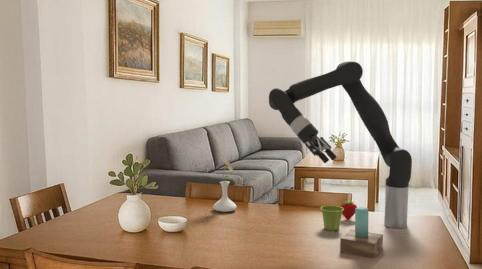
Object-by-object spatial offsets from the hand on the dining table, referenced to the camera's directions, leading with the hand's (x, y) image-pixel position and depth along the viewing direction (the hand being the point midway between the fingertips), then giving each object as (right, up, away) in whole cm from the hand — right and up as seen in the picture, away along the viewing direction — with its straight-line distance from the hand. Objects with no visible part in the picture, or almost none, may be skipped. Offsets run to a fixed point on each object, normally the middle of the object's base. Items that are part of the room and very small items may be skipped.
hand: (331, 160), depth 178 cm
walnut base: (+9, -32, -10) cm, 35 cm away
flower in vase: (-42, -27, +44) cm, 67 cm away
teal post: (+9, -27, -11) cm, 30 cm away
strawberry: (+13, -28, +28) cm, 42 cm away
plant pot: (+3, -30, +15) cm, 33 cm away
